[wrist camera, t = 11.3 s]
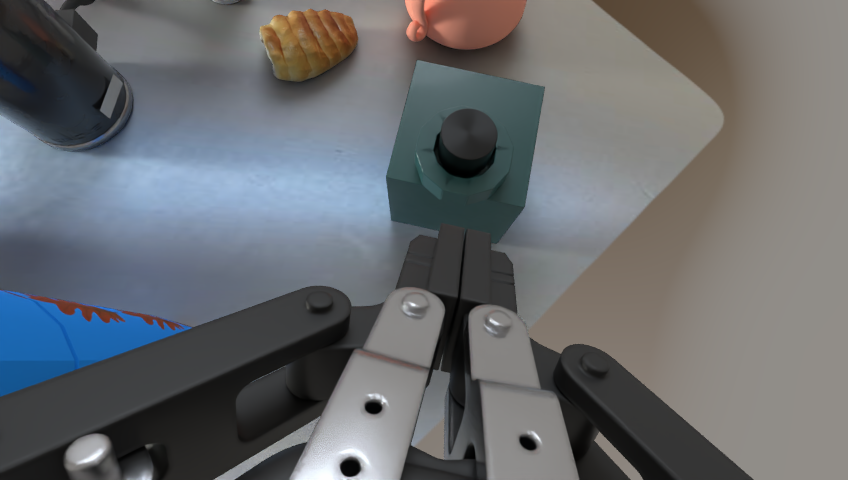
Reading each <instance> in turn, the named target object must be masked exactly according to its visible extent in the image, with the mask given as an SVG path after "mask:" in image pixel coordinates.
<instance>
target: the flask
mask: <svg viewBox="0 0 848 480" xmlns="http://www.w3.org/2000/svg"><path fill="white" fill-rule="evenodd" d="M544 89H545V87H543V86H538V85H533V84H529V83H524V82H519V81H514V80H510V79H505V78H500V77H496V76H491V75H486V74H482V73H477V72H472V71H467V70H463V69H458V68H453V67H449V66H444V65H439V64H435V63H430V62H425V61H420V60H417V62H416V65H415V69H414V73H413V77H412V80H411V84H410V88H409V92H408V96H407V99H406V103H405V107H404V111H403V114H402V118H401V122H400V126H399V130H398V133H397V137H396V141H395V145H394V149H393V152H392V156H391V160H390V164H389V167H388V171H387V175H386V181H387V189H388V197H389V205H390V214H391V220H393V221H397V222H402V223H406V224H411V225H415V226H420V227H424V228H429V229H433V230H438V231H439V230H440V225H441V223H444V224H449V225H454V226H458V227H463V228H465V231H466V229H467V228H468V229H472V230H477V231H482V232H486V233H491V242H492V243H496V244H497V243H498V241H499V240H500V239H501V237H502V236H503V235H504V233H505V232H506V231H507V230H508V228H509V227H510V226H511V224H512V223H513V222H514V220H515V219H516V218H517V217H518V215H519V214H520V213H521V211H522V210H523V209H524V207H525V202H526V196H527V190H528V184H529V178H530V172H531V166H532V160H533V154H534V148H535V143H536V137H537V131H538V125H539V119H540V113H541V107H542V101H543V95H544ZM465 108H471V109H476V110H479V111H482V112H484V113H485V114H487V115H488V116H489V117H490V118H491V119H492V120H493V122H494V124H495V126H496V128H497V133H498V137H497V142H496V145H495V148H494V150H493V152H492V155H491V157H490V160H489V162H488V164H487V166H486V167H485V168H484V169H483V170H482V171H480V172H479V173H477V174H474V175H470V176H461V175H457V174H454V173H452V172H450V171H449V170H447V169H446V168H445V167H444V166H443V164H442V163H441V161H440V159H439V155H438V146H439V139H440V132H441V127H442V124H443V122H444V120H445V119H446V118H447V117H448V116H449V115H450V114H451V113H453V112H454V111H457V110H460V109H465ZM465 231H464V235H465Z"/></svg>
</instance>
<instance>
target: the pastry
mask: <svg viewBox="0 0 848 480" xmlns="http://www.w3.org/2000/svg"><path fill="white" fill-rule="evenodd" d="M259 33H260V37H261V41H262V42H263V43H264V45H265V47H266V52H267V55H268V57H269V58H270V60H271V62H272V63H273V66H272V71H273V73H274V76H275V77H277V78H278V79H280V80H286V81H296V82H300V81H304V80H306V79H309V78H314V77H316V76H318V75H320V74H322V73H324V72H325V71H327V70H329V69H331V68H332V67H333V66H335V65H336V64H338V63H340V62H341V61H343V60H344V59H345V58H346V57H348V56H349V55H350V54H351V52H352V51H353V50H354V49H355V47H356V45H357V42H358V36H357V31H356V29H355V27H354V23H353V20H352V18H351V17H349V16H346V15H344V14H342V13H337V12H330V11H328V10H326V9H325V10H322V11H319V12H317V11H314V10H312V9H308V10H307V11H305V12H301V11H291V12H290V13H289V15H288V16H283V15H276V16H274V17H273V19H272V21H271V23H270V24H269V25H265V26H261V27H260V31H259Z"/></svg>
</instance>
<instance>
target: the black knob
mask: <svg viewBox="0 0 848 480" xmlns="http://www.w3.org/2000/svg"><path fill="white" fill-rule="evenodd" d="M497 137H498V133H497V128H496V126H495V124H494V122H493V120H492V119H491V118H490V117H489V116H488V115H487V114H485V113H484V112H482V111H479V110H476V109H471V108H465V109H460V110H457V111H454V112H453V113H451V114H450V115H449V116H448V117H447V118H446V119H445V120H444V122H443V124H442V127H441V132H440V139H439V146H438V155H439V159H440V161H441V163H442V164H443V166H444V167H445V168H446V169H447V170H449V171H450V172H452V173H454V174H457V175H461V176H470V175H474V174H477V173H479V172H480V171H482V170H483V169H484V168H485V167H486V166H487V164H488V162H489V160H490V157H491V155H492V152H493V150H494V148H495V145H496V142H497Z"/></svg>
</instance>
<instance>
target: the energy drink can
mask: <svg viewBox="0 0 848 480" xmlns="http://www.w3.org/2000/svg"><path fill="white" fill-rule="evenodd" d="M212 1H214V2H216V3H219V4H232V3H235V2H238V1H240V0H212Z"/></svg>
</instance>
